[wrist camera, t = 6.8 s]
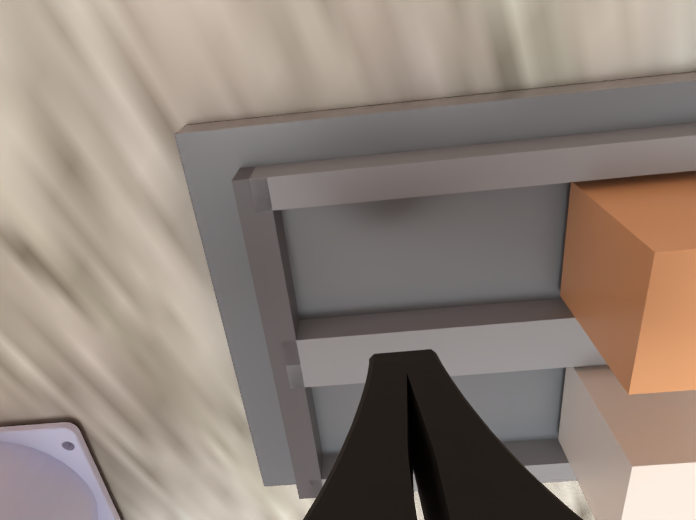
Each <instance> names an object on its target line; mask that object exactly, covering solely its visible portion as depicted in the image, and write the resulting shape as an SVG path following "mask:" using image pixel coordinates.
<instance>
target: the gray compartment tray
mask: <svg viewBox="0 0 696 520" xmlns="http://www.w3.org/2000/svg"><path fill="white" fill-rule="evenodd" d="M175 138H176V142H177V146H178V150H179V154H180V158H181V162H182V166H183V170H184V173H185V177H186V181H187V185H188V189H189V193H190V197H191V201H192V205H193V209H194V213H195V217H196V220H197V224H198V228H199V232H200V236H201V240H202V244H203V248H204V252H205V256H206V260H207V264H208V267H209V271H210V275H211V279H212V283H213V287H214V291H215V295H216V299H217V303H218V307H219V311H220V314H221V318H222V322H223V326H224V330H225V334H226V338H227V342H228V346H229V350H230V354H231V358H232V361H233V365H234V369H235V373H236V377H237V381H238V385H239V389H240V393H241V397H242V401H243V405H244V408H245V412H246V416H247V420H248V424H249V428H250V432H251V436H252V440H253V444H254V448H255V452H256V455H257V459H258V463H259V467H260V471H261V475H262V479H263V483H264V486H277V485H292V484H296V485H297V489H298V494H299V499H303V498H317V496H318V494H319V492H320V490H321V489H322V487H323V485H324V483H325V481H326V479H327V477H328V476H329V474H330V472H331V470H332V468H333V466H334V464H335V462H336V459H337V457H338V455H339V453H340V450H341V448H342V446H343V444H344V441H345V439H346V437H347V435H348V432H349V430H350V427H351V425H352V422H353V419H354V417H355V414H356V411H357V408H358V405H359V402H360V400H361V396H362V393H363V390H364V386H365V382H366V378H367V373H368V367H369V358H370V357H371V356H372V355H373V354H378V353H390V352H401V351H413V350H425V349H432V350H433V351H434V352H436V353H437V355H438V357H439V359H440V361H441V363H442V364H443V366H444V368H445V369H446V371H447V372H448V374H449V376H450V377H451V379H452V380H453V381H454V383H455V384H456V386H457V387H458V389H459V390H460V392H461V393H462V394H463V396H464V397H465V398H466V400H467V401H468V402H469V404H470V405H471V406H472V407H473V409H474V410H475V411H476V412H477V414H478V415H479V416H480V418H481V419H482V420H483V421H484V422H485V424H486V425H487V426H488V427H489V428H490V430H491V431H492V432H493V433H494V434H495V435H496V436H497V438H498V439H499V440H500V441H501V442H502V443H503V444H504V445H505V447H506V448H507V449H508V450H509V451H510V452H511V453H512V454H513V455H514V456H515V457H516V458H517V459H518V460H519V462H520V463H521V464H522V465H523V466H524V467H525V468H526V469H527V470H528V471H529V472H530V473H531V474H533V475H534V476H535V477H536V478H537V479H538V480H539V481H540V482H541V483H547V482H562V481H577V479H576V477H575V474H574V472H573V470H572V468H571V466H570V464H569V462H568V459H567V457H566V455H565V453H564V451H563V449H562V446H561V444H560V442H559V440H558V435H559V426H560V417H561V408H562V399H563V390H564V381H565V373H566V367H578V366H591V365H604V364H607V363H606V362H605V360H604V359H603V357H602V356H601V354H600V353H599V351H598V350H597V349H596V347H595V346H594V344H593V343H592V341H591V340H590V338H589V337H588V336H587V334H586V333H585V331H584V330H583V328H582V327H581V325H580V324H579V322H578V321H577V320H576V318H575V317H574V315H573V314H572V312H571V311H570V309H569V308H568V307H567V305H566V304H565V302H564V301H563V299H562V298H561V296H560V290H561V279H562V269H563V259H564V248H565V238H566V228H567V218H568V207H569V197H570V187H571V182H579V181H590V180H601V179H611V178H622V177H632V176H643V175H653V174H664V173H675V172H685V171H696V72H689V73H680V74H670V75H660V76H651V77H641V78H632V79H622V80H612V81H603V82H593V83H584V84H574V85H564V86H555V87H545V88H536V89H526V90H516V91H507V92H497V93H488V94H478V95H468V96H459V97H449V98H440V99H430V100H420V101H411V102H401V103H392V104H382V105H372V106H363V107H353V108H344V109H334V110H325V111H315V112H305V113H296V114H286V115H277V116H267V117H257V118H248V119H238V120H229V121H219V122H209V123H200V124H190V125H185V126H184V127H183V128H182V129H180V130H179V131H178V132H177V133H175ZM413 485H414V491H418V488H417V484H416V480H415V475H414V471H413Z"/></svg>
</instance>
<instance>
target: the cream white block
mask: <svg viewBox="0 0 696 520" xmlns="http://www.w3.org/2000/svg"><path fill="white" fill-rule="evenodd" d="M558 440H559V442H560V444H561V446H562V449H563V451H564V453H565V455H566V457H567V459H568V462H569V464H570V466H571V468H572V470H573V472H574V474H575V477H576V479H577V481H578V483H579V485H580V487H581V490H582V492H583V494H584V496H585V498H586V500H587V502H588V505H589V507H590V509H591V511H592V513H593V515H594V518H595V520H696V390H686V391H673V392H659V393H645V394H632V395H628V393H627V392H626V390H625V389H624V388H623V386H622V385H621V383H620V382H619V380H618V379H617V377H616V376H615V375H614V373H613V372H612V370H611V369H610V367H609V366H608V364H604V365H591V366H578V367H566V373H565V381H564V390H563V399H562V408H561V417H560V426H559V435H558Z"/></svg>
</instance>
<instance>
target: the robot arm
mask: <svg viewBox="0 0 696 520" xmlns="http://www.w3.org/2000/svg"><path fill="white" fill-rule="evenodd" d="M413 471H414V475H415V480H416V484H417V488H418V493H419V497H420V502H421V506H422V510H423V515H424V519H425V520H583V519H582V518H580V517H579V516H578V515H577V514H575V513H574V512H573V511H572V510H571V509H569V508H568V507H567V506H566V505H565V504H564V503H563V502H562V501H560V500H559V499H558V498H557V497H556V496H555V495H554V494H553V493H552V492H550V491H549V490H548V489H547V488H546V487H545V486H544V485H543V484H542V483H541V482H540V481H539V480H538V479H537V478H536V477H535V476H534V475H533V474H531V473H530V472H529V471H528V470H527V469H526V468H525V467H524V466H523V465H522V464H521V463H520V462H519V460H518V459H517V458H516V457H515V456H514V455H513V454H512V453H511V452H510V451H509V450H508V449H507V448H506V447H505V445H504V444H503V443H502V442H501V441H500V440H499V439H498V438H497V436H496V435H495V434H494V433H493V432H492V431H491V430H490V428H489V427H488V426H487V425H486V424H485V422H484V421H483V420H482V419H481V418H480V416H479V415H478V414H477V412H476V411H475V410H474V409H473V407H472V406H471V405H470V404H469V402H468V401H467V400H466V398H465V397H464V396H463V394H462V393H461V392H460V390H459V389H458V387H457V386H456V384H455V383H454V381H453V380H452V379H451V377H450V376H449V374H448V372H447V371H446V369H445V368H444V366H443V364H442V363H441V361H440V359H439V357H438V355H437V353H436V352H434V351H433V350H432V349H425V350H413V351H401V352H390V353H378V354H373V355H372V356H371V357H370V358H369V367H368V373H367V378H366V382H365V386H364V390H363V393H362V396H361V400H360V402H359V405H358V408H357V411H356V414H355V417H354V419H353V422H352V425H351V427H350V430H349V432H348V435H347V437H346V439H345V441H344V444H343V446H342V448H341V450H340V453H339V455H338V457H337V459H336V462H335V464H334V466H333V468H332V470H331V472H330V474H329V476H328V477H327V479H326V481H325V483H324V485H323V487H322V489H321V490H320V492H319V494H318V496H317V498H316V499H315V501H314V503H313V504H312V506H311V508H310V509H309V511H308V513H307V514H306V516H305V517H304V519H303V520H417V516H416V509H415V503H414V485H413ZM0 520H121V519H120V517H119V515H118V513H117V511H116V508H115V506H114V504H113V502H112V500H111V498H110V495H109V493H108V491H107V489H106V487H105V484H104V482H103V480H102V478H101V476H100V473H99V471H98V469H97V467H96V465H95V463H94V460H93V458H92V456H91V454H90V452H89V449H88V447H87V445H86V443H85V441H84V439H83V436H82V434H81V432H80V430H79V429H78V427H77V426H76V425H74V424H72V423H69V422H60V423H47V424H33V425H20V426H7V427H0Z"/></svg>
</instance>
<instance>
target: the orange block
mask: <svg viewBox="0 0 696 520" xmlns="http://www.w3.org/2000/svg"><path fill="white" fill-rule="evenodd" d="M560 296H561V298H562V299H563V301H564V302H565V304H566V305H567V307H568V308H569V309H570V311H571V312H572V314H573V315H574V317H575V318H576V320H577V321H578V322H579V324H580V325H581V327H582V328H583V330H584V331H585V333H586V334H587V336H588V337H589V338H590V340H591V341H592V343H593V344H594V346H595V347H596V349H597V350H598V351H599V353H600V354H601V356H602V357H603V359H604V360H605V362H606V363H607V364H608V366H609V367H610V369H611V370H612V372H613V373H614V375H615V376H616V377H617V379H618V380H619V382H620V383H621V385H622V386H623V388H624V389H625V390H626V392H627V393H628V395H632V394H645V393H659V392H673V391H686V390H696V171H685V172H675V173H664V174H653V175H643V176H632V177H622V178H611V179H601V180H590V181H579V182H571V187H570V197H569V207H568V218H567V228H566V238H565V248H564V259H563V269H562V279H561V290H560Z"/></svg>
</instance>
